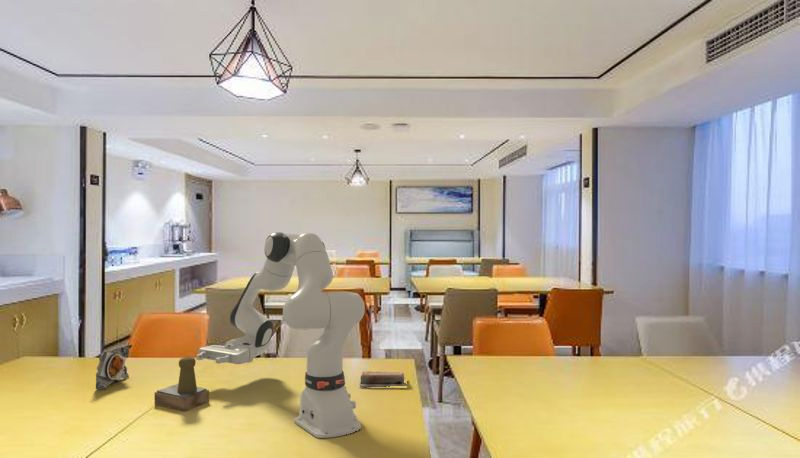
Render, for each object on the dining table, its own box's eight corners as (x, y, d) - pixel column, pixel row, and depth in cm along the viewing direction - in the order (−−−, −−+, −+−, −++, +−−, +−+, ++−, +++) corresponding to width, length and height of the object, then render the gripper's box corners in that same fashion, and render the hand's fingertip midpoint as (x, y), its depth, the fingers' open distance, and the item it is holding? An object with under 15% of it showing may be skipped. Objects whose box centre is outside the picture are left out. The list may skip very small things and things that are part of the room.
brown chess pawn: (199, 387, 170) (199, 355, 170) (193, 393, 164) (192, 359, 164) (181, 387, 170) (181, 355, 170) (174, 393, 164) (174, 360, 164)
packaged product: (359, 376, 184) (361, 368, 194) (359, 389, 184) (361, 381, 194) (407, 376, 184) (408, 369, 194) (407, 390, 184) (408, 381, 194)
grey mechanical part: (106, 390, 181) (106, 354, 181) (95, 390, 181) (95, 353, 181) (132, 377, 196) (132, 344, 195) (122, 377, 196) (122, 344, 196)
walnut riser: (179, 395, 176) (179, 382, 176) (208, 401, 169) (208, 388, 169) (154, 404, 167) (154, 391, 167) (184, 411, 160) (184, 397, 160)
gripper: (215, 339, 195) (186, 347, 182) (256, 345, 186) (228, 353, 173) (215, 355, 195) (186, 364, 182) (256, 362, 186) (228, 372, 173)
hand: (207, 359), depth 178 cm, fingers open, 8 cm apart
